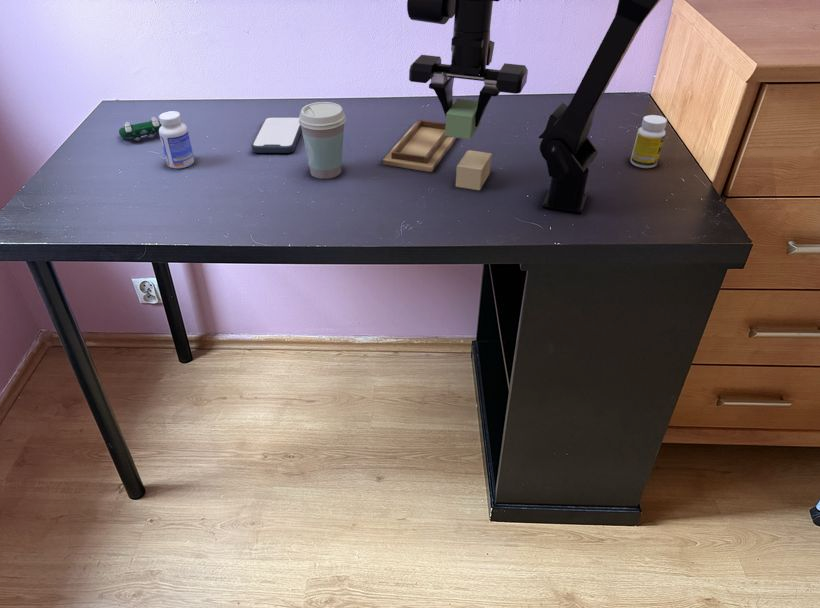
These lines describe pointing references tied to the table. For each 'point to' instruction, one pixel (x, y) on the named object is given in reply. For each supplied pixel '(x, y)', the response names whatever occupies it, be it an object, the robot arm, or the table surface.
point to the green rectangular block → (461, 119)
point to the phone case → (277, 135)
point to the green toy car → (140, 129)
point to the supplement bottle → (649, 142)
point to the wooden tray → (420, 147)
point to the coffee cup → (323, 137)
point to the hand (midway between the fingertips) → (463, 124)
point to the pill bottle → (175, 140)
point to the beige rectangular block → (473, 170)
